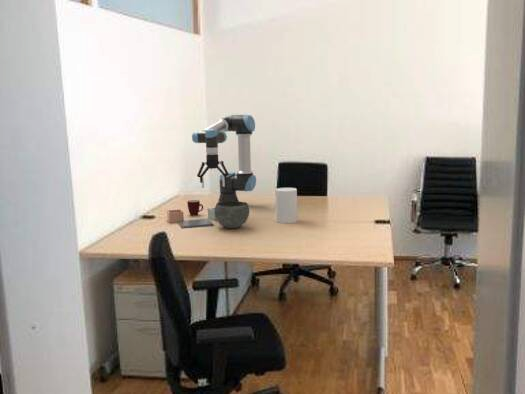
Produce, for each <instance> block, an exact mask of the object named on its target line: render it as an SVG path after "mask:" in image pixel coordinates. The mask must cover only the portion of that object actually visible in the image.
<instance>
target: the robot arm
mask: <svg viewBox="0 0 525 394" xmlns="http://www.w3.org/2000/svg"><path fill="white" fill-rule="evenodd" d="M255 121H256V120H255V119H254V117H253V116H252V115H250V114H231V115H230V114H229V115H227V116H224V117H222V118H220V119H218V120H217V121H216V122H215V123H213V124H211V125H210V126H208V127H206V128H204V129H202V130H200V131H199V130H198V131H194V132H192V134H191V137H192V142H193V143H194V144H205V153H206V156H205V158H206V159H205V160H206V161H201V164H200V168H199V170H198V172H197V175H196V177H197V178H199V181H200V183H201V188H202V189H204V188H205V181H204V179H205V178H204V177H205V175H206V173H207V172H208V171H209V169H210V170H212V169H217V170H218V171H219V173H220V175H219V198H218V201H217V203H218V202H222V201H239V199H238V195H237V191H238V192H252V191H253V190H254V189H255V187H256V185H257V177H256V175H255V174H254V172H253V171H252V170H251V169H252V166H251V165H252V163H251V162H252V161H251V136H252V135H253V132H254V131H255V129H256V122H255ZM226 132H235V135H236V136H237V142H238V143H237V147H238V151H237V152H238V154H237V156H238V171H237V172H234V171H231V172H229V171H228V170H227V167H226V166H225V164H224V161H223V160H220V161H219V154H218V153H219V144H223V143H225V142H226V141H227V138H228V136H227V134H226ZM219 164H220V165H221V167H220V166H219ZM205 166H206V167H205ZM204 167H205V168H204ZM221 168H222V169H223V170H222V169H221ZM239 202H240V201H239Z"/></svg>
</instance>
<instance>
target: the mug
mask: <svg viewBox="0 0 525 394" xmlns="http://www.w3.org/2000/svg"><path fill="white" fill-rule="evenodd" d="M200 207H201V208H200ZM187 209H188V213H189V214H190V216H198V215H199V212H202V211H204V205H203V204H202V203H200V200H199V199H191V200H190V199H189V200H187Z"/></svg>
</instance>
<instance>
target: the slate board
mask: <svg viewBox="0 0 525 394" xmlns="http://www.w3.org/2000/svg"><path fill="white" fill-rule="evenodd" d="M176 224H177V225H179V227H180V229H191V228H192V227H193V228H201V227H213V226H214V223H213V222H212V221H211V219H209V218H199V219H187V220H184V221H177V222H176Z"/></svg>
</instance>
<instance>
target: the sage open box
mask: <svg viewBox="0 0 525 394" xmlns="http://www.w3.org/2000/svg"><path fill="white" fill-rule="evenodd" d="M207 219H209V220H212V221H215V222H218V221H217V219H216V217H215V207H211V208H207Z"/></svg>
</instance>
